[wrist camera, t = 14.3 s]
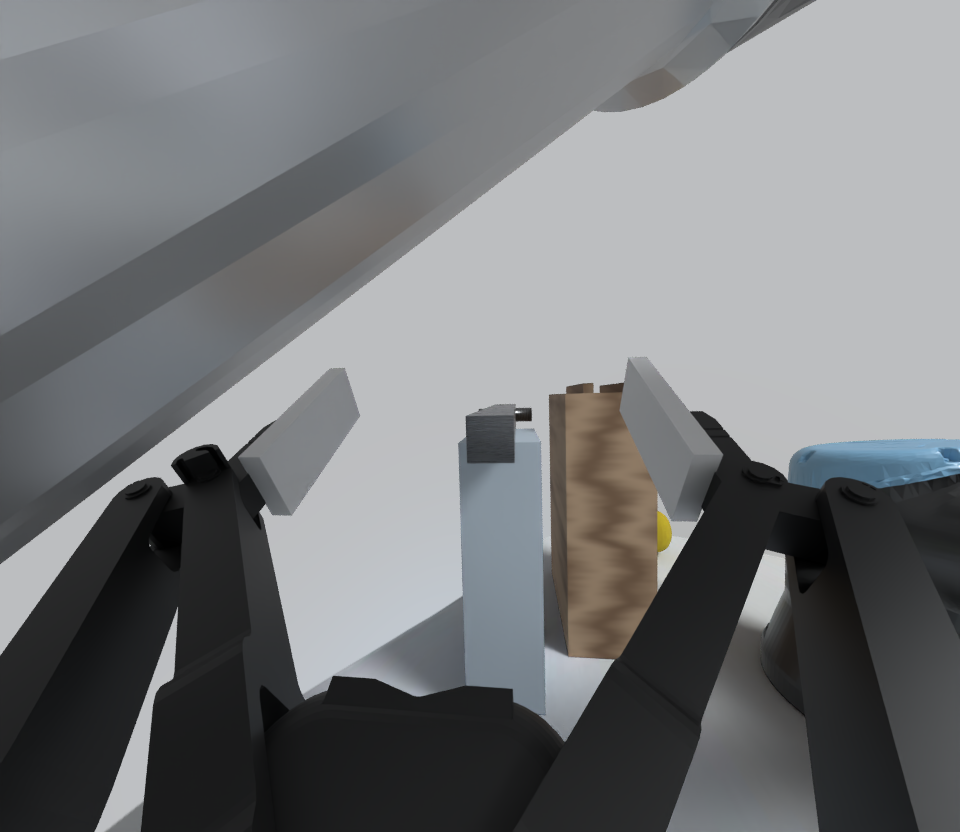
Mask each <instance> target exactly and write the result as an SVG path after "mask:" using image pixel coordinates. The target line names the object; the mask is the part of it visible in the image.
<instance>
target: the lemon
mask: <svg viewBox="0 0 960 832" xmlns="http://www.w3.org/2000/svg"><path fill="white" fill-rule="evenodd" d="M671 538H672V531H671V526H670V523H669V521H668V519H667V517H666V516H665V515H663V514H662V513H661V512H659V511H657V552H661V551H663V550H665V549H666V548H667V547H668V546H669V544H670V542H671Z"/></svg>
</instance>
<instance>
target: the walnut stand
mask: <svg viewBox="0 0 960 832" xmlns="http://www.w3.org/2000/svg"><path fill="white" fill-rule="evenodd" d="M623 387H624V383H619V384H610V385H603V386H600V393H593V383H587V384H578V385H573V386H568V387H567V388H566V392H567V393H566V394H554V395H553V394H552V395H549V422H550V424H549V426H550V484H551V485H550V491H551V556H552V575H553V580H554V585H555V590H556V595H557V600H558V605H559V610H560V616H561V621H562V626H563V631H564V636H565V641H566V646H567V651H568V656H569V657H587V658H605V659H617V658H618V657H620V655H621V654H622V652H623V651H624V649H625V647H626V646H627V644H628V642H629V640H630V639H631V637H632V635H633V633H634V632H635V630H636V628H637V627H638V625H639V623H640V621H641V620H642V618H643V616H644V615H645V613H646V611H647V609H648V608H649V606H650V604H651V603H652V601H653V599H654V597H655V596H656V594H657V489H656V487H655V485H654V483H653V481H652V479H651V477H650V474H649V472H648V470H647V468H646V466H645V464H644V462H643V460H642V457H641V455H640V453H639V451H638V449H637V447H636V445H635V443H634V440H633V438H632V436H631V434H630V432H629V430H628V428H627V426H626V424H625V421H624V419H623V417H622V415H621V413H620V411H619V410H620V404H621V398H622V393H623Z"/></svg>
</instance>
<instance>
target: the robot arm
mask: <svg viewBox="0 0 960 832" xmlns="http://www.w3.org/2000/svg"><path fill="white" fill-rule="evenodd" d="M814 1H816V0H0V564H1V563H2V562H3V561H5V560H6V559H8V558H9V557H10V556H12V555H13V554H14V553H15V552H17V551H18V550H19V549H21V548H22V547H23V546H24V545H26V544H27V543H29V542H30V541H31V540H32V539H34V538H35V537H36V536H38V535H39V534H40V533H42V532H43V531H44V530H46V529H47V528H48V527H49V526H51V525H52V524H53V523H55V522H56V521H57V520H59V519H60V518H61V517H62V516H64V515H65V514H66V513H68V512H69V511H70V510H72V509H73V508H74V507H76V506H77V505H78V504H79V503H81V502H82V501H83V500H85V499H86V498H87V497H89V496H90V495H91V494H93V493H94V492H95V491H96V490H98V489H99V488H100V487H102V486H103V485H104V484H106V483H107V482H108V481H110V480H111V479H112V478H113V477H115V476H116V475H117V474H119V473H120V472H121V471H123V470H124V469H125V468H126V467H128V466H129V465H130V464H132V463H133V462H134V461H136V460H137V459H138V458H140V457H141V456H142V455H143V454H145V453H146V452H147V451H149V450H150V449H151V448H153V447H154V446H155V445H157V444H158V443H159V442H161V441H162V440H163V439H164V438H166V437H167V436H168V435H170V434H171V433H172V432H174V431H175V430H176V429H178V428H179V427H180V426H181V425H183V424H184V423H185V422H187V421H188V420H189V419H191V418H192V417H193V416H195V415H196V414H197V413H198V412H200V411H201V410H202V409H204V408H205V407H206V406H207V405H209V404H210V403H211V402H213V401H214V400H215V399H217V398H218V397H219V396H221V395H222V394H223V393H225V392H226V391H227V390H228V389H230V388H231V387H232V386H234V385H235V384H236V383H238V382H239V381H240V380H241V379H243V378H244V377H245V376H247V375H248V374H249V373H251V372H252V371H253V370H255V369H256V368H257V367H259V366H260V365H261V364H262V363H264V362H265V361H266V360H268V359H269V358H270V357H272V356H273V355H274V354H275V353H277V352H278V351H279V350H281V349H282V348H283V347H285V346H286V345H287V344H289V343H290V342H291V341H293V340H294V339H295V338H296V337H298V336H299V335H300V334H302V333H303V332H304V331H306V330H307V329H308V328H309V327H311V326H312V325H313V324H315V323H316V322H317V321H319V320H320V319H321V318H323V317H324V316H325V315H327V314H328V313H329V312H330V311H332V310H333V309H334V308H336V307H337V306H338V305H340V304H341V303H342V302H344V301H345V300H346V299H347V298H349V297H350V296H351V295H353V294H354V293H355V292H356V291H358V290H359V289H360V288H362V287H363V286H364V285H366V284H367V283H368V282H370V281H371V280H372V279H374V278H375V277H376V276H378V275H379V274H380V273H381V272H383V271H384V270H385V269H387V268H388V267H389V266H391V265H392V264H393V263H394V262H396V261H397V260H398V259H400V258H401V257H402V256H404V255H405V254H406V253H407V252H409V251H410V250H411V249H413V248H414V247H415V246H417V245H418V244H419V243H421V242H422V241H423V240H425V239H426V238H427V237H428V236H430V235H431V234H432V233H434V232H435V231H436V230H438V229H439V228H440V227H442V226H443V225H444V224H445V223H447V222H448V221H449V220H451V219H452V218H453V217H455V216H456V215H457V214H458V213H460V212H461V211H462V210H464V209H465V208H466V207H468V206H469V205H470V204H472V203H473V202H474V201H476V200H477V199H478V198H479V197H481V196H482V195H483V194H485V193H486V192H487V191H489V190H490V189H491V188H493V187H494V186H495V185H496V184H498V183H499V182H500V181H502V180H503V179H504V178H506V177H507V176H508V175H509V174H511V173H512V172H513V171H515V170H516V169H517V168H519V167H520V166H521V165H523V164H524V163H525V162H527V161H528V160H529V159H530V158H532V157H533V156H534V155H536V154H537V153H538V152H540V151H541V150H542V149H543V148H545V147H546V146H547V145H549V144H550V143H551V142H553V141H554V140H555V139H556V138H558V137H559V136H560V135H562V134H563V133H564V132H566V131H567V130H568V129H570V128H571V127H572V126H573V125H575V124H576V123H577V122H579V121H580V120H581V119H583V118H584V117H585V116H587V115H588V114H589V113H591V112H592V111H593V110H594V111H601V112H621V111H627V110H631V109H636V108H640V107H644V106H646V105H649V104H651V103H654V102H656V101H659V100H661V99H664V98H665V97H667V96H669V95H670V94H672V93H674V92H676V91H677V90H679V89H681V88H683V87H684V86H686V85H687V84H689V83H690V82H691V81H693V80H695V79H696V78H697V77H698V76H700V75H701V74H702V73H704V72H705V71H706V70H708V69H709V68H710V67H711V66H712V65H714V64H715V63H716V62H717V61H718V60H720V59H721V58H722V57H723V56H724V55H725V54H726V53H728V52H729V51H731V50H733V49H735V48H736V47H738V46H739V45H741V44H743V43H745V42H746V41H748V40H750V39H751V38H753V37H755V36H756V35H758V34H760V33H762V32H763V31H765V30H766V29H768V28H770V27H772V26H773V25H775V24H776V23H778V22H780V21H782V20H783V19H785V18H787V17H789V16H790V15H792V14H793V13H795V12H797V11H799V10H800V9H802V8H804V7H805V6H807V5H809V4H811V3H812V2H814ZM619 411H620V413H621V415H622V417H623V419H624V421H625V424H626V426H627V428H628V430H629V432H630V434H631V436H632V438H633V440H634V443H635V445H636V447H637V449H638V451H639V453H640V455H641V457H642V460H643V462H644V464H645V466H646V468H647V470H648V472H649V474H650V477H651V479H652V481H653V483H654V485H655V487H656V489H657V491H658V493H659V496H660V498H661V500H662V502H663V504H664V506H665V508H666V510H667V513H668V515H669V517H670V519H671V521H695V522H696V521H697V520H698V517H699V515H700V512H701V510H702V509H703V511H704V513H703V515H702V517H701V518H700V520H699V522H698V523H697V525H696V527H695V529H694V530H693V532H692V534H691V536H690V537H689V539H688V541H687V542H686V544H685V546H684V547H683V549H682V551H681V553H680V554H679V556H678V558H677V560H676V561H675V563H674V565H673V566H672V568H671V570H670V572H669V573H668V575H667V577H666V578H665V580H664V582H663V584H662V585H661V587H660V589H659V590H658V592H657V594H656V596H655V597H654V599H653V601H652V603H651V604H650V606H649V608H648V609H647V611H646V613H645V615H644V616H643V618H642V620H641V621H640V623H639V625H638V627H637V628H636V630H635V632H634V633H633V635H632V637H631V639H630V640H629V642H628V644H627V646H626V647H625V649H624V651H623V652H622V654H621V655H620V657H618V658H617V659H615V661H614V662H613V663H612V665H611V666H610V668H609V670H608V671H607V673H606V674H605V676H604V678H603V680H602V681H601V683H600V685H599V686H598V688H597V690H596V691H595V693H594V695H593V697H592V698H591V700H590V702H589V703H588V705H587V707H586V708H585V710H584V712H583V713H582V715H581V717H580V719H579V720H578V722H577V724H576V725H575V727H574V729H573V730H572V732H571V734H570V736H569V737H568V739H567V741H566V742H564V741H563V740H562V738H561V737H560V736H559V735H558V733H557V732H556V731H555V730H554V729H553V728H552V727H551V726H550V725H549V724H548V723H547V722H546V721H545V720H544V719H542V718H541V717H540V716H539V715H537V714H536V713H535V712H533V711H531V710H530V709H528V708H526V707H525V706H522V705H520V704H518V703H515V702H514V699H513V689H509V688H495V687H481V686H467V685H466V686H462V687H458V688H454V689H450V690H446V691H442V692H438V693H434V694H430V695H426V696H421V697H416V696H412V695H410V694H408V693H406V692H403V691H401V690H399V689H397V688H394V687H392V686H390V685H388V684H385V683H383V682H381V681H379V680H376V679H370V678H356V677H342V676H333V677H332V680H331V683H330V685H329V688H328V691H325V692H322V693H320V694H317V695H314V696H312V697H310V698H309V699H307V700H304V697H303V695H302V693H301V691H300V688H299V685H298V681H297V677H296V672H295V667H294V662H293V658H292V653H291V648H290V643H289V639H288V634H287V629H286V624H285V620H284V615H283V610H282V605H281V600H280V596H279V591H278V586H277V582H276V577H275V572H274V567H273V563H272V558H271V553H270V548H269V543H268V539H267V534H266V529H265V524H264V520H263V518H262V516H261V514H260V513H259V511H260V510H261V509H262V508H263V506H264V505H265V504H266V505H267V507H268V509H269V510H270V512H271V514H272V515H292V514H293V513H294V511H295V510H296V509H297V507H298V506H299V504H300V503H301V501H302V500H303V498H304V497H305V495H306V494H307V492H308V491H309V490H310V488H311V487H312V485H313V484H314V482H315V481H316V479H317V478H318V476H319V475H320V474H321V472H322V471H323V469H324V468H325V466H326V465H327V463H328V462H329V460H330V459H331V457H332V456H333V455H334V453H335V452H336V450H337V449H338V447H339V446H340V444H341V443H342V441H343V440H344V439H345V437H346V435H347V434H348V433H349V431H350V430H351V428H352V427H353V425H354V424H355V422H356V421H357V420H358V418H359V417H360V414H359V411H358V408H357V405H356V402H355V399H354V396H353V393H352V389H351V386H350V383H349V380H348V377H347V374H346V371H345V368H334V369H329V370H328V371H327V372H326V373H325V374H324V375H323V376H322V377H321V378H320V379H319V380H318V381H317V382H315V383H314V384H313V385H312V386H311V387H310V388H309V389H308V390H307V391H306V392H305V393H304V394H303V395H302V396H301V397H300V398H299V399H298V400H297V401H296V402H295V403H294V404H293V405H292V406H291V407H290V408H288V409H287V410H286V411H285V412H284V414H282V415H281V416H280V417H279V418H278V419H277V420H276V421H274V422H272V423H271V424H269V425H267V426H265V427H264V428H263V429H262V430H260V431H259V432H258V433H257V434H256V435H255V437H253V438H252V439H251V440H250V441H249V442H248V444H246V445H245V446H244V447H243V448H241V449H240V450H239V451H238V452H237V453H236V454H235V455H234V456H233V457H232V458H231V459H230V460H229V461H227V460H226V458H225V457H224V455H223V454H222V452H221V450H220V449H219V447H218V446H217V445H213V444H209V445H202V446H199V447H195V448H193V449H190V450H188V451H186V452H185V453H183V454H181V455H179V456H178V457H177V458H176V459H175V460H174V461H173V463H172V465H171V466H172V468H173V469H174V470H175V472H176V473H177V474H178V476H179V477H180V478H181V480H182V481H183V482H184V484H182V485H177V486H173V487H168V486H167V485H166V484H165V483H164V481H163V480H162V479H161V478H156V477H153V478H147V479H144V480H141V481H136V482H134V483H133V484H130V485H128V486H127V487H126V488H124V489H123V490H122V491H120V492H119V493H118V494H117V495H116V496H115V497H114V498H113V499H112V501H111V502H110V503H109V505H108V506H107V508H106V509H105V510H104V512H103V513H102V515H101V516H100V517H99V519H98V520H97V522H96V523H95V524H94V526H93V527H92V529H91V530H90V531H89V533H88V534H87V536H86V537H85V538H84V540H83V541H82V542H81V544H80V545H79V547H78V548H77V549H76V551H75V552H74V554H73V555H72V556H71V558H70V559H69V561H68V562H67V563H66V565H65V566H64V568H63V569H62V570H61V572H60V573H59V575H58V576H57V577H56V579H55V580H54V582H53V583H52V584H51V586H50V587H49V589H48V590H47V591H46V593H45V594H44V595H43V597H42V598H41V600H40V601H39V602H38V604H37V605H36V607H35V608H34V609H33V611H32V612H31V614H30V615H29V617H28V618H27V619H26V621H25V622H24V624H23V625H22V626H21V628H20V629H19V630H18V632H17V633H16V635H15V636H14V637H13V639H12V640H11V642H10V643H9V644H8V646H7V647H6V649H5V650H4V651H3V653H2V654H1V655H0V832H94V831H95V829H96V827H97V825H98V823H99V820H100V818H101V815H102V813H103V810H104V808H105V805H106V803H107V800H108V798H109V795H110V793H111V791H112V788H113V785H114V782H115V780H116V777H117V774H118V771H119V768H120V766H121V763H122V760H123V757H124V755H125V752H126V749H127V746H128V743H129V741H130V738H131V735H132V732H133V729H134V727H135V724H136V721H137V718H138V716H139V713H140V710H141V707H142V705H143V702H144V699H145V696H146V693H147V691H148V688H149V685H150V682H151V680H152V677H153V674H154V671H155V668H156V666H157V663H158V660H159V657H160V655H161V652H162V649H163V646H164V644H165V641H166V638H167V635H168V632H169V630H170V627H171V624H172V621H173V618H174V616H175V613H176V610H177V607H178V620H177V637H176V654H175V672H174V678H173V679H172V680H171V681H169V682H167V683H166V684H164V685H162V686H161V687H160V688H159V690H158V691H157V693H156V695H155V699H154V704H153V712H152V723H151V733H150V743H149V754H148V764H147V775H146V784H145V795H144V805H143V815H142V826H141V832H666V830H667V827H668V824H669V821H670V819H671V816H672V813H673V810H674V808H675V805H676V802H677V799H678V797H679V794H680V791H681V788H682V786H683V783H684V780H685V777H686V775H687V772H688V769H689V766H690V764H691V761H692V758H693V755H694V753H695V750H696V747H697V744H698V741H699V738H700V733H701V721H702V717H703V714H704V711H705V709H706V706H707V703H708V701H709V698H710V695H711V693H712V690H713V687H714V684H715V682H716V679H717V676H718V674H719V671H720V668H721V666H722V663H723V660H724V658H725V655H726V652H727V650H728V647H729V644H730V642H731V639H732V636H733V634H734V631H735V628H736V626H737V623H738V620H739V618H740V615H741V612H742V610H743V607H744V604H745V602H746V599H747V596H748V593H749V591H750V588H751V585H752V583H753V580H754V577H755V575H756V572H757V569H758V567H759V564H760V561H761V559H762V556H763V553H764V551H765V549H767V550H770V551H774V552H778V553H782V554H785V590H784V592H783V594H782V596H781V598H780V601H779V603H778V605H777V607H776V609H775V611H774V613H773V616H772V618H771V621H770V623H768V624H767V626H766V627H765V629H764V631H763V633H762V637H761V663H762V666H763V669H764V671H765V673H766V675H767V676H768V678H769V679H770V681H771V682H772V684H773V685H774V686H775V687H776V688H777V690H778V691H779V692H780V693H781V694H782V695H783V696H784V697H785V698H786V699H787V700H788V701H789V702H790V703H791V704H792V705H794V706H795V707H796V708H797V709H798V710H799V711H801V712H802V713H803V714H804V715H805V719H806V727H807V736H808V744H809V752H810V760H811V768H812V776H813V784H814V792H815V801H816V809H817V817H818V825H819V832H960V440H946V439H900V440H871V441H853V442H839V443H829V444H820V445H814V446H809V447H806V448H803V449H801V450H799V451H797V452H796V453H795V454H794V455H793V456H792V458H791V460H790V463H789V474H788V481H787V479H786V478H785V477H784V475H783V474H781V473H780V472H779V471H777V470H776V469H775V468H772V467H770V466H768V465H765V464H763V463H759V462H755V461H751V460H750V458H749V457H748V456H747V455H746V454H745V453H744V451H743V450H742V449H741V448H740V447H739V446H738V445H737V443H736V442H735V441H734V440H733V439H732V438H731V437H729V434H728V433H727V432H726V431H725V430H723V428H722V426H721V425H720V424H719V423H718V422H717V421H716V419H714V418H713V417H711V416H709V415H708V414H706V413H704V412H703V411H699V412H698V411H692V412H689V410H688V409H687V408H686V406H685V405H684V404H683V403H682V401H681V400H680V399H679V398H678V396H677V395H676V394H675V393H674V391H673V390H672V389H671V387H670V386H669V385H668V383H667V382H666V381H665V380H664V379H663V377H662V376H661V375H660V374H659V372H658V371H657V369H656V368H655V367H654V366H653V364H652V363H651V362H650V361H649V360H648V358H647V357H632V358H628V363H627V369H626V375H625V381H624V387H623V393H622V398H621V404H620V410H619ZM149 544H150V545H151V546H149Z"/></svg>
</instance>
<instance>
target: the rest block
mask: <svg viewBox="0 0 960 832" xmlns="http://www.w3.org/2000/svg"><path fill="white" fill-rule="evenodd" d="M458 447H459V479H460V513H461V546H462V581H463V614H464V647H465V681H466V685H467V686H481V687H495V688H509V689H513V699H514V702H515V703H518V704H520V705H522V706H525V707H526V708H528V709H530V710H531V711H533V712H535V713H536V714H542V715H546V714H545V655H544V595H543V535H542V482H541V481H542V478H541V477H542V476H541V441H540V439H539V437H538V436H537V434H536V432H535V430H534V429H516V435H515V463H467V443H466V437H465V438H464V439H463V440H462V441H460V442H459V443H458Z"/></svg>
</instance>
